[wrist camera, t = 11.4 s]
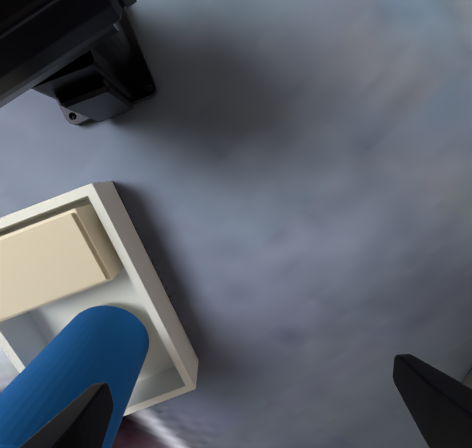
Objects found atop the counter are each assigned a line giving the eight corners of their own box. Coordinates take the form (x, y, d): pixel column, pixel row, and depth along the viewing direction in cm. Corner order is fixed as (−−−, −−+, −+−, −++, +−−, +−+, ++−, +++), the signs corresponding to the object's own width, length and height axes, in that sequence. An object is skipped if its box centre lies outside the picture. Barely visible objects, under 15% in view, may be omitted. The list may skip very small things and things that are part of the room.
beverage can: (116, 381, 21) (-5, 635, 10) (54, 336, 20) (-174, 569, 8) (167, 334, 21) (104, 544, 9) (107, 284, 19) (-58, 456, 8)
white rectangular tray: (-25, 233, 18) (-71, 245, 15) (112, 181, 18) (92, 183, 15) (85, 402, 22) (65, 437, 19) (198, 360, 22) (195, 389, 19)
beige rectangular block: (-7, 242, 18) (-61, 259, 15) (100, 201, 18) (72, 209, 15) (29, 299, 19) (-13, 328, 16) (130, 261, 19) (110, 281, 16)
